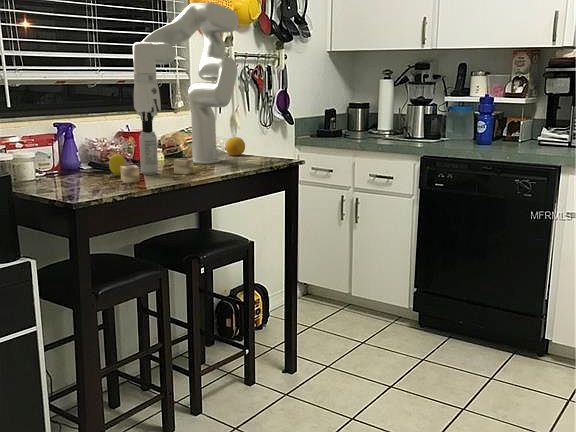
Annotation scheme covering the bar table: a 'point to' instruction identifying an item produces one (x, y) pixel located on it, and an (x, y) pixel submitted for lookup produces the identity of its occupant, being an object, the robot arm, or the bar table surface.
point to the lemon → (116, 163)
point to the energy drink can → (148, 153)
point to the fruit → (235, 146)
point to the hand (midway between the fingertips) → (147, 131)
